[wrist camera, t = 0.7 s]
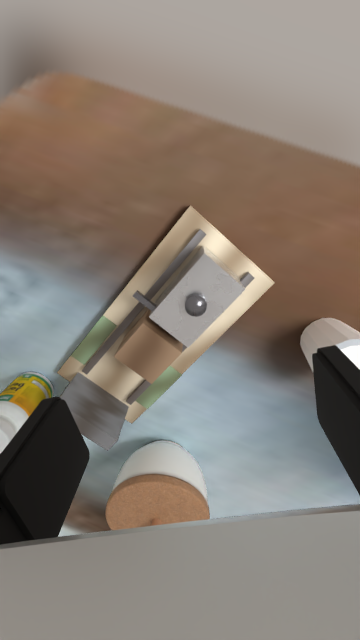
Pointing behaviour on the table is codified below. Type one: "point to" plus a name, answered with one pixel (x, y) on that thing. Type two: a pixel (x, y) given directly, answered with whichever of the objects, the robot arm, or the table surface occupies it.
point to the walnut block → (148, 349)
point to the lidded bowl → (158, 488)
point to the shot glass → (331, 339)
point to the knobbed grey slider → (194, 297)
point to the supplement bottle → (21, 403)
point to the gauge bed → (106, 336)
